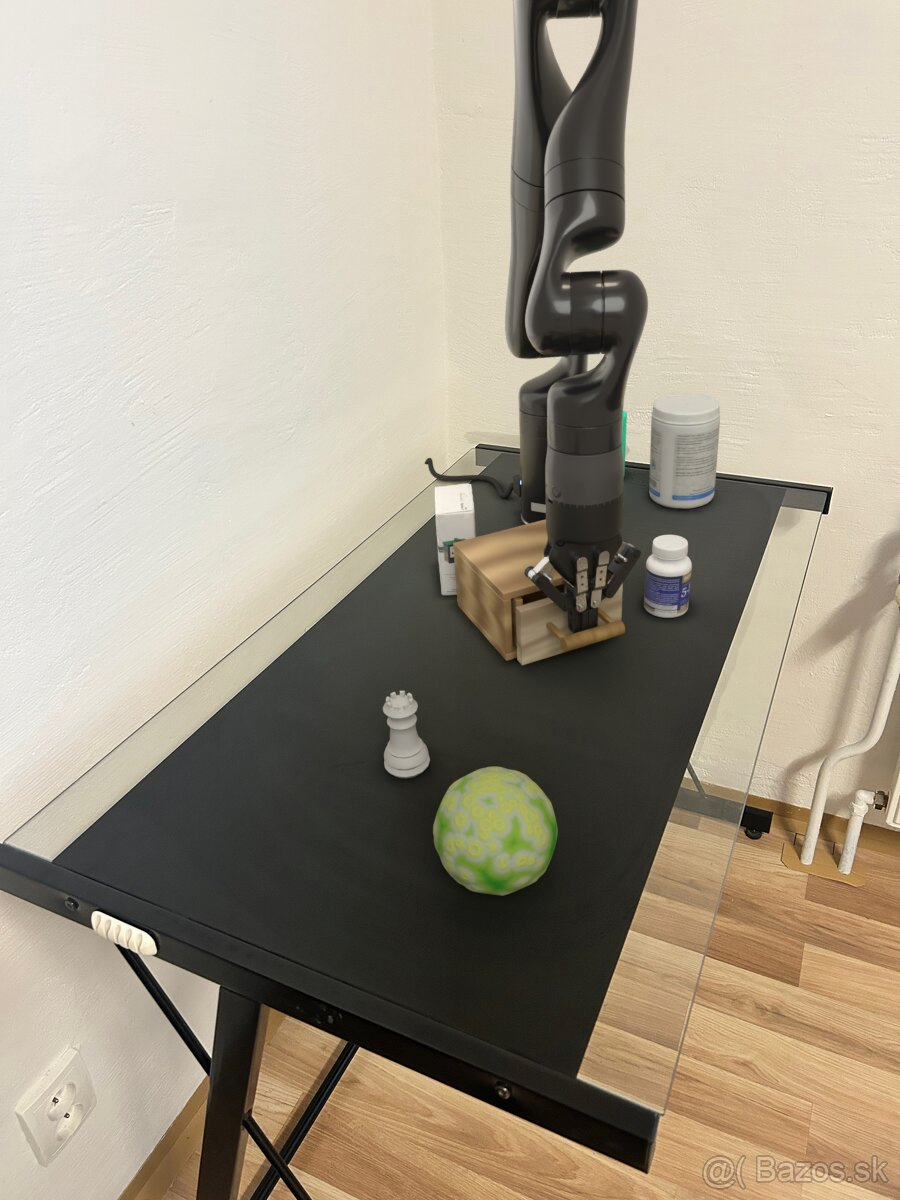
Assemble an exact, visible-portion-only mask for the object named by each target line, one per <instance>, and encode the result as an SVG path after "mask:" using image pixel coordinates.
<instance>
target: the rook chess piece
mask: <svg viewBox="0 0 900 1200" xmlns="http://www.w3.org/2000/svg"><path fill="white" fill-rule="evenodd" d="M389 695H390V696H386V697H385V702H384V703H383V706H382V711H383V714H384V715H386V716H387V720H386V724H387V726H388V727H389V741H388V742H387V745H386V747H385V749H384V752H383V759H384V761H383V765H384V769H385V770H386V772H388V773H389V774H390V775H391V776H393V777H396V778H398V779H411V778H412V779H413V778H415V777H417V776H419V775H421V774H422V773H423V772H424V771H425V770H426V769H427V768H428V767H429V764H430V762H431V757H430V754H429V749H428V747H427V745H426V743H424V741H423V739H422V738H421V737H420V736H419V734H418V731H417V727H416V723H417V720H418V718H417V715H416V714H415V713H416V712H417V711H418V707H419V705H418V702H417V701H416V700H415V699H414V698H413V694H412V693H410V692H408V693H406V690H399V694H396V691H393V692H391V693H389Z"/></svg>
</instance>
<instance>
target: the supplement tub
mask: <svg viewBox="0 0 900 1200" xmlns="http://www.w3.org/2000/svg"><path fill="white" fill-rule="evenodd" d="M720 407H721V404H720V402H719V400H718V399H717V398H715V397H712V396H710V395H706V394H700V393H674V394H668V395H664V396H661V397H659V398H657V399H655V400H654V402H653V404H652V410H651V422H650V423H651V424H650V454H649V455H650V456H649V484H648V485H649V491H648V493H649V494H648V495H649V497H650V498H651V500H652V501H653V502H654V503H656V504H658V505H660V506H662V507H666V508H669V509H683V510H687V509H689V510H690V509H695V508H700V507H703V506H704V505H707V504H708V503H710V502H711V501H712V500H713V499H714V496H715V493H716V480H717V479H716V478H717V467H718V465H717V464H718V454H719V453H718V452H719V439H720V426H721V425H720V424H721V412H720V409H721V408H720Z"/></svg>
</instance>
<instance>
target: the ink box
mask: <svg viewBox="0 0 900 1200" xmlns="http://www.w3.org/2000/svg"><path fill="white" fill-rule="evenodd" d="M434 513H435V515H434V516H435V535H436V545H437V559H438V569H439V580H440V592H441V593H440V594H441V595H442V596H457V588H456V575H455V561H454V548H453V543H455V542H459V541H463V540H467V539H471V538H475V537H477V532H476V531H477V530H476V514H475V513H476V512H475V503H474V495H473V488H472V484H471V483H459V484H452V485H442V486H435V487H434Z"/></svg>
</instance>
